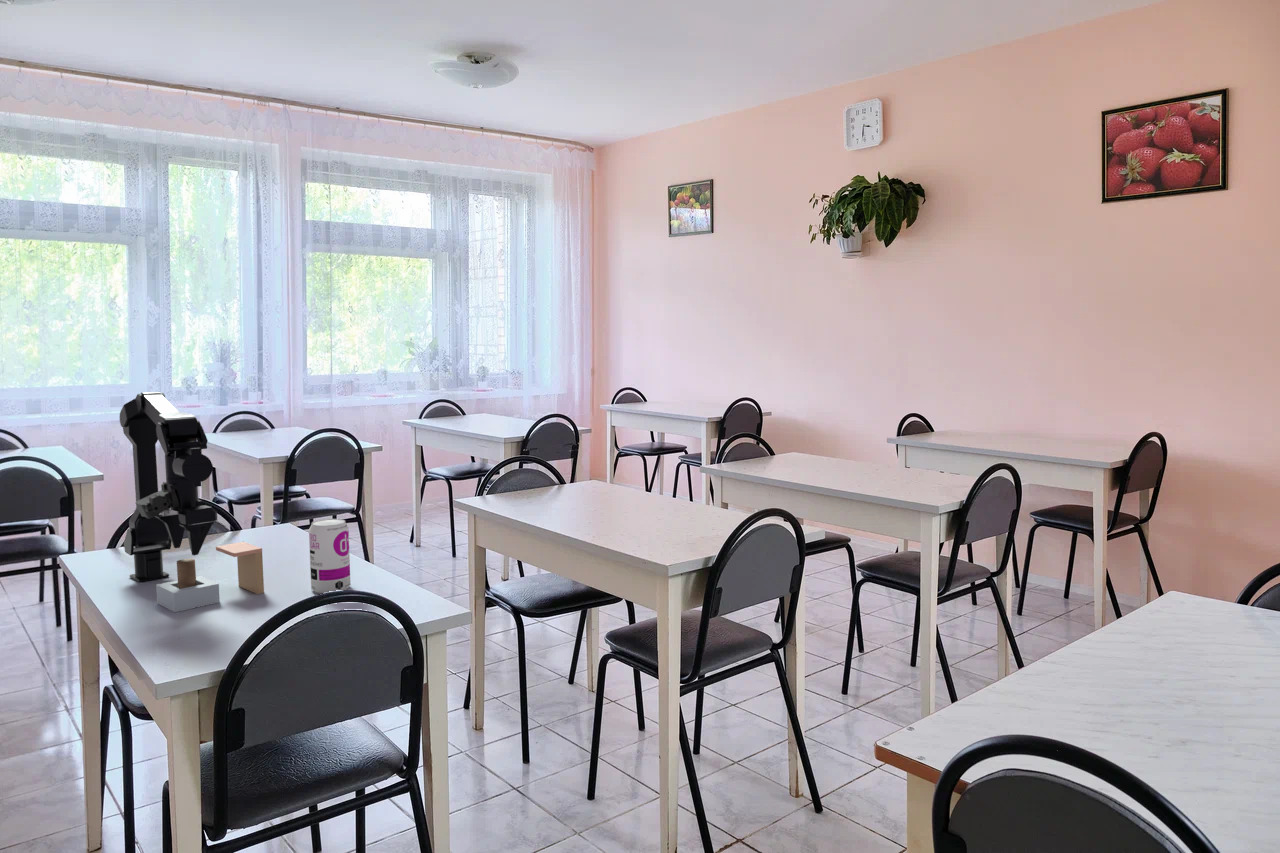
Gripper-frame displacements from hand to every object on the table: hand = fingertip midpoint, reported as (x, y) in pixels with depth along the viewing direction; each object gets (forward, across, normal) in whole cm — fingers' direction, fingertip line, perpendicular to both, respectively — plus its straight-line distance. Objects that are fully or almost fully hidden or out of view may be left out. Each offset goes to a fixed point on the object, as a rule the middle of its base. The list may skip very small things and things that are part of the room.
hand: (185, 551), depth 188 cm
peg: (+11, 0, 0) cm, 11 cm away
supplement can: (+11, +13, +25) cm, 30 cm away
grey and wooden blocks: (+11, 0, +5) cm, 12 cm away
